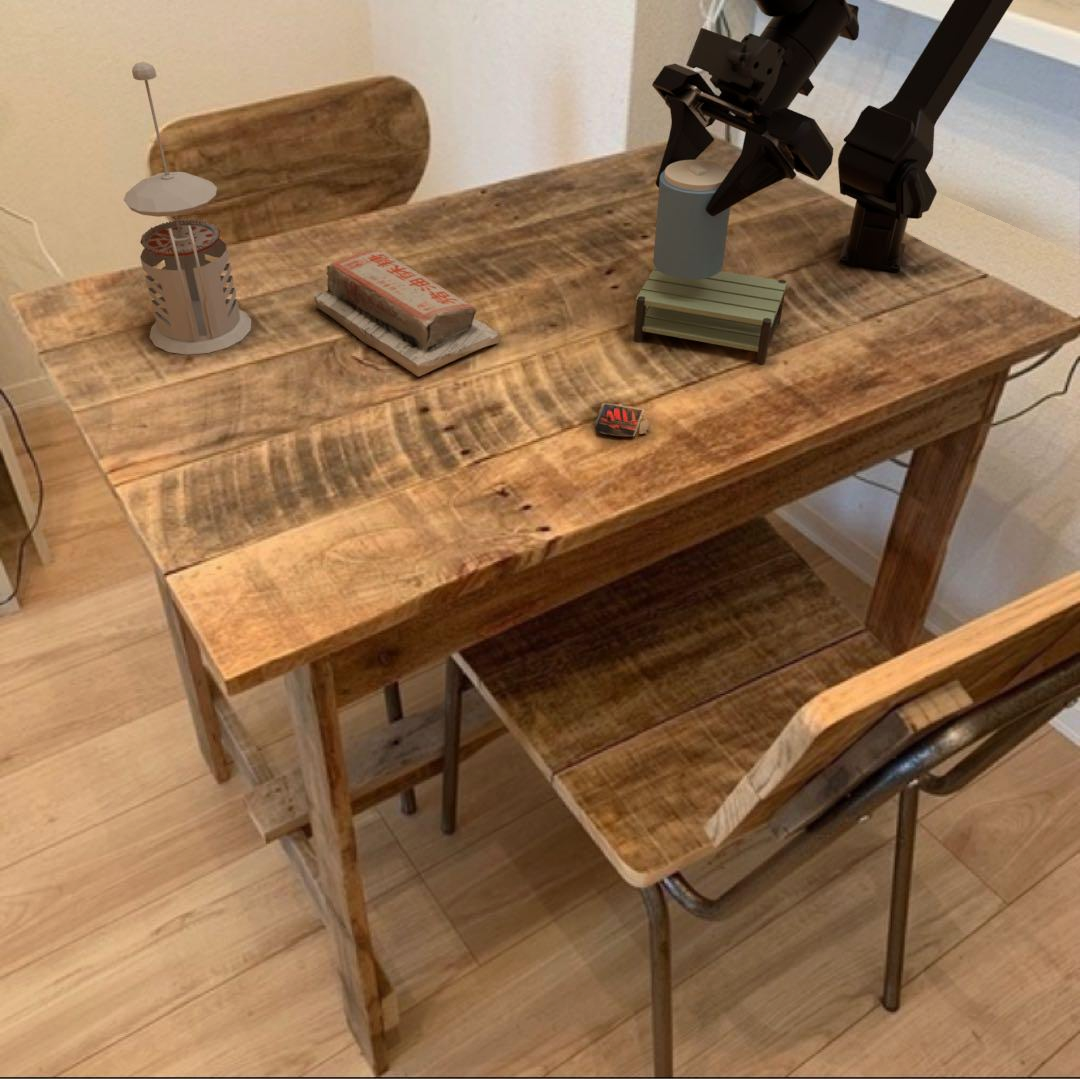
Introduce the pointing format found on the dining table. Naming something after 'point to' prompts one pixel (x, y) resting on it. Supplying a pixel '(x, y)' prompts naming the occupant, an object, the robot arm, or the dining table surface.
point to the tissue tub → (690, 221)
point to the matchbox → (620, 420)
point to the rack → (712, 309)
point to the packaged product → (401, 312)
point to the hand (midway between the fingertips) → (683, 200)
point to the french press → (185, 260)
